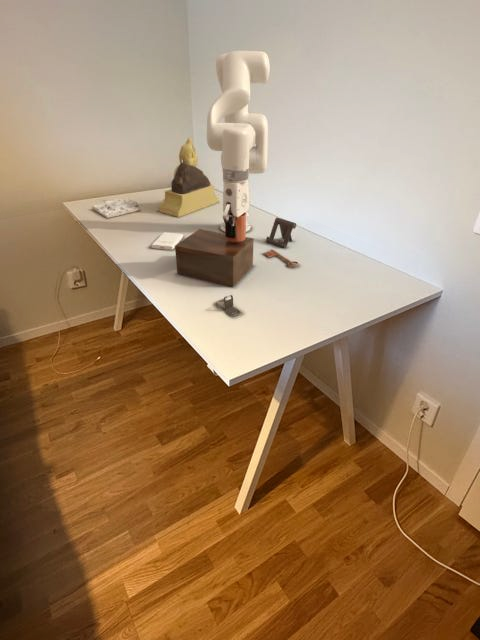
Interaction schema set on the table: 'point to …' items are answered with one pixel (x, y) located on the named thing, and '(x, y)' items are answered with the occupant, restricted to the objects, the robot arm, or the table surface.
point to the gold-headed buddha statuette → (188, 186)
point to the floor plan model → (116, 207)
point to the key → (273, 253)
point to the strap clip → (228, 306)
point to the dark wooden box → (214, 257)
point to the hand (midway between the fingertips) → (235, 233)
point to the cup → (239, 228)
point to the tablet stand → (282, 232)
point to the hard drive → (167, 241)
